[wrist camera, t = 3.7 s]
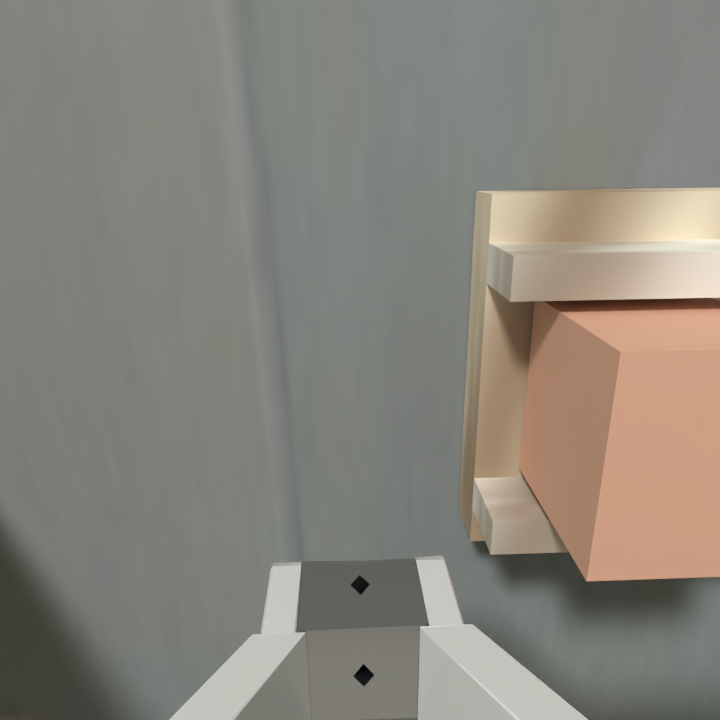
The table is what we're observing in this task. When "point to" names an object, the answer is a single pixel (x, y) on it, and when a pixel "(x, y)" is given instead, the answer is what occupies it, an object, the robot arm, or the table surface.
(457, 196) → the table surface
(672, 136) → the table surface
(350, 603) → the robot arm
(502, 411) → the chute
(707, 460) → the block
